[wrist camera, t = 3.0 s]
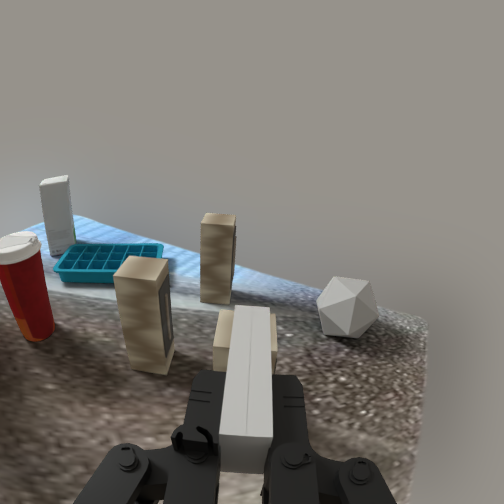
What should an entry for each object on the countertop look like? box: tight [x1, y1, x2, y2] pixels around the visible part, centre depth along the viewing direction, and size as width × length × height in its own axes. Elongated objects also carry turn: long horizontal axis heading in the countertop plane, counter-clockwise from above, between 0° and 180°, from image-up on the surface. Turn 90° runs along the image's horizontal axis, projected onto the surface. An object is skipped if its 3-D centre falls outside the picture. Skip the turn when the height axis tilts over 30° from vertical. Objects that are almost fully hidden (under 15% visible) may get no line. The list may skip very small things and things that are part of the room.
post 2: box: [200, 213, 236, 305], centre depth 48 cm, size 5×4×13 cm
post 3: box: [213, 309, 277, 375], centre depth 26 cm, size 5×4×13 cm
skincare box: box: [39, 175, 76, 256], centre depth 58 cm, size 8×7×16 cm
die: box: [316, 276, 379, 338], centre depth 43 cm, size 8×9×10 cm
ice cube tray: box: [53, 243, 164, 283], centre depth 54 cm, size 12×20×3 cm, turn 100°
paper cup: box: [0, 231, 55, 342], centre depth 34 cm, size 8×8×14 cm
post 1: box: [113, 256, 175, 375], centre depth 33 cm, size 5×4×13 cm
